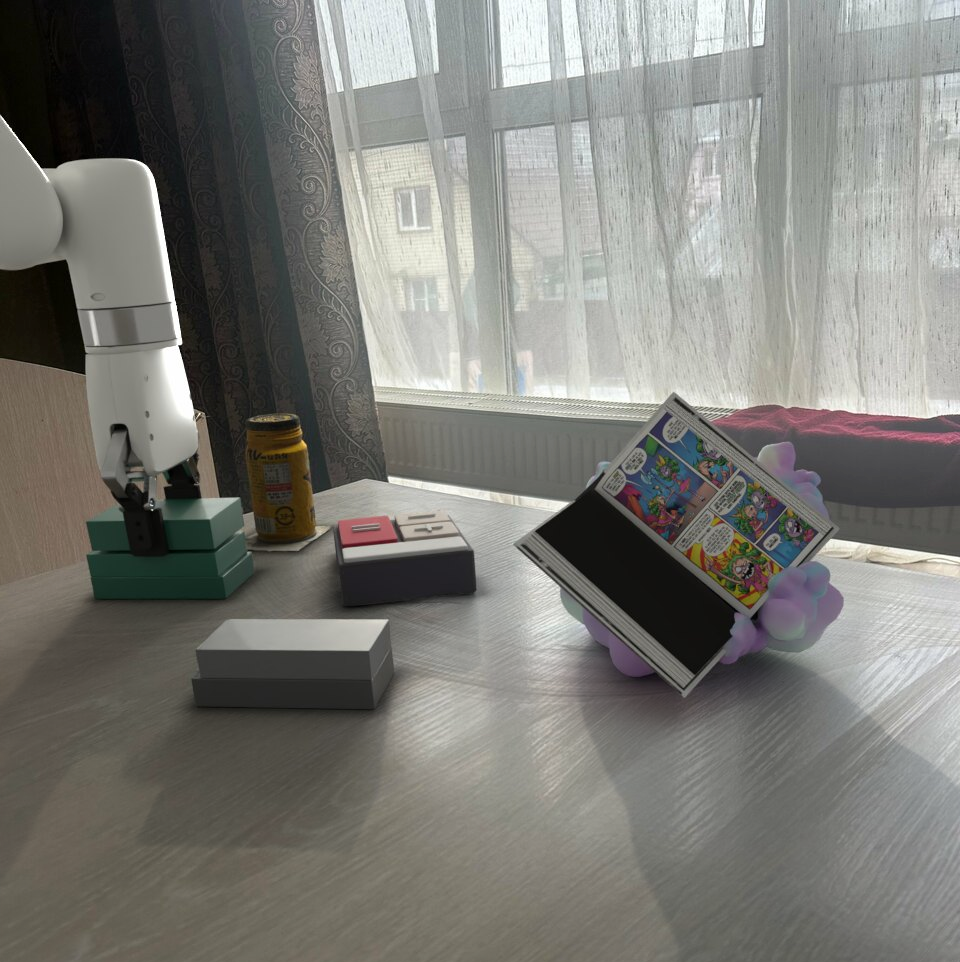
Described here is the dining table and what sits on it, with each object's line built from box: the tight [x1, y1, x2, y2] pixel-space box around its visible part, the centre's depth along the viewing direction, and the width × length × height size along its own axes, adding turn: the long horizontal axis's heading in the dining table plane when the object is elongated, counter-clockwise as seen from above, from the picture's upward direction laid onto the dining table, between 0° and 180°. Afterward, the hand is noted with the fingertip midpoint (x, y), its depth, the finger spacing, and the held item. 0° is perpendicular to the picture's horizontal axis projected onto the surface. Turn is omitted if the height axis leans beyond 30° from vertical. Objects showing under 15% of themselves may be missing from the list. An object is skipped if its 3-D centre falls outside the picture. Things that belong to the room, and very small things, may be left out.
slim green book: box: [85, 497, 245, 551], centre depth 87 cm, size 11×7×3 cm, turn 82°
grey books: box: [190, 618, 395, 710], centre depth 66 cm, size 12×6×4 cm, turn 82°
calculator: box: [332, 509, 477, 607], centre depth 88 cm, size 11×4×15 cm
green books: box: [85, 530, 256, 600], centre depth 88 cm, size 12×7×4 cm, turn 82°
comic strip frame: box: [513, 391, 845, 699], centre depth 67 cm, size 20×22×18 cm
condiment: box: [244, 413, 332, 553], centre depth 98 cm, size 7×8×12 cm
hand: (170, 540), depth 87 cm, fingers closed on slim green book, 7 cm apart
